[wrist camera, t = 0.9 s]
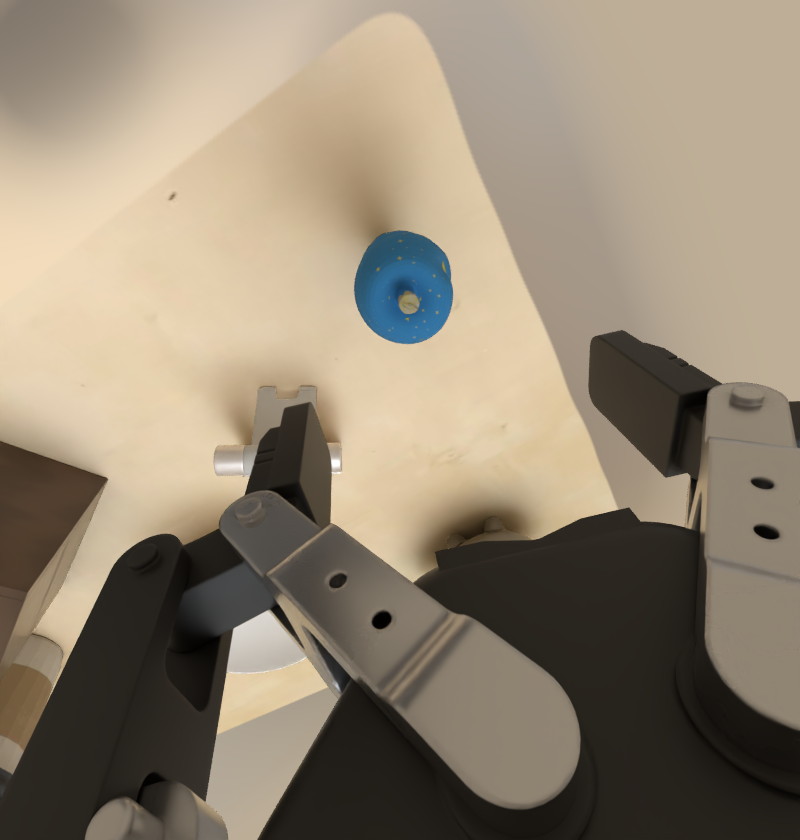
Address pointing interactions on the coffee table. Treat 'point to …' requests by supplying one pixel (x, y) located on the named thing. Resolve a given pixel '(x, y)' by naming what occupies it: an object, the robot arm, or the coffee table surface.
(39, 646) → the coffee cup
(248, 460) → the tablet stand
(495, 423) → the coffee table surface
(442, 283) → the ornament
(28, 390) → the coffee table surface
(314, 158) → the coffee table surface
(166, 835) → the robot arm
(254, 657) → the bowl
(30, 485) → the wooden drawer cabinet
